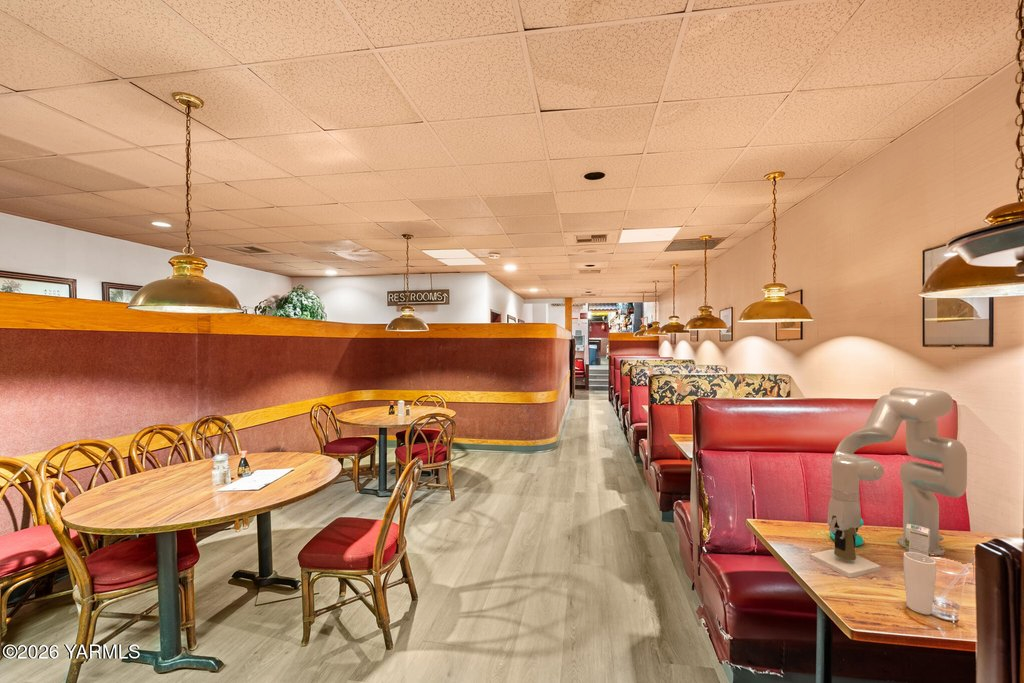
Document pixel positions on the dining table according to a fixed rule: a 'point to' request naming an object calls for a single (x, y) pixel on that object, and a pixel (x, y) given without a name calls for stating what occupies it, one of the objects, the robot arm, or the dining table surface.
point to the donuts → (858, 538)
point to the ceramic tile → (845, 564)
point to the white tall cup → (919, 581)
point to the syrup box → (917, 539)
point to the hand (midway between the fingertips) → (844, 547)
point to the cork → (847, 546)
